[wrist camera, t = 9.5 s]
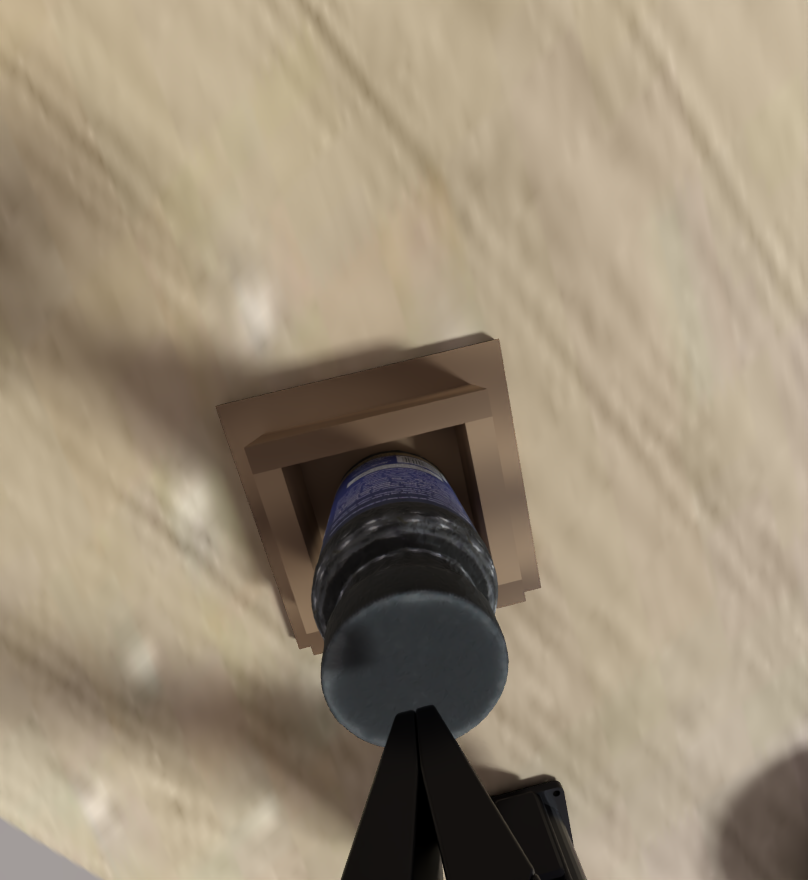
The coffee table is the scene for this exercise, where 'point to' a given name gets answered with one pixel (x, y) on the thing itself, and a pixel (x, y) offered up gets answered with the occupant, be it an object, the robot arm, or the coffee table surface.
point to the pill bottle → (405, 601)
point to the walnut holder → (377, 430)
